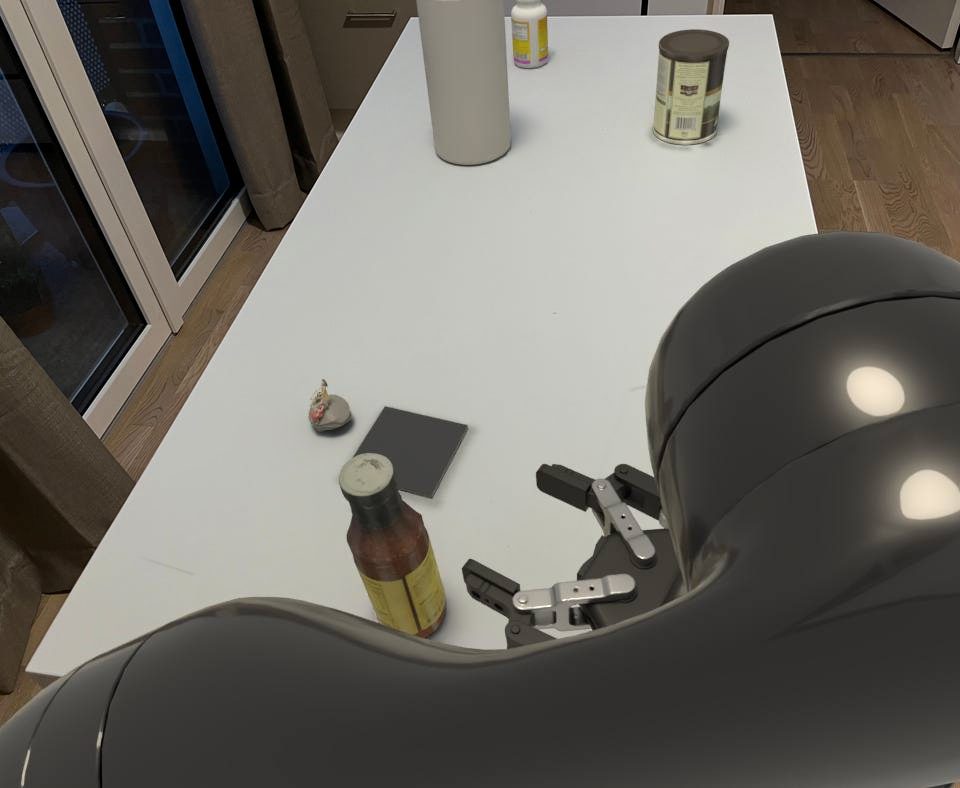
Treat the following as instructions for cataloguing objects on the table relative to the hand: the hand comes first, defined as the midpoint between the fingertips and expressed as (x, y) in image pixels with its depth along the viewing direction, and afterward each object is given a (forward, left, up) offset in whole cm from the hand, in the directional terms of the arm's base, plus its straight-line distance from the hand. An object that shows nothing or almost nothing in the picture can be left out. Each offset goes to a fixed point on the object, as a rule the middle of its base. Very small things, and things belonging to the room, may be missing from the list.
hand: (503, 521), depth 50 cm
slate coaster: (+15, +23, -21) cm, 35 cm away
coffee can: (+93, +26, -22) cm, 99 cm away
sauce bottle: (0, +11, -22) cm, 24 cm away
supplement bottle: (+106, +63, -22) cm, 125 cm away
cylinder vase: (+73, +54, -22) cm, 93 cm away
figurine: (+14, +33, -22) cm, 42 cm away
